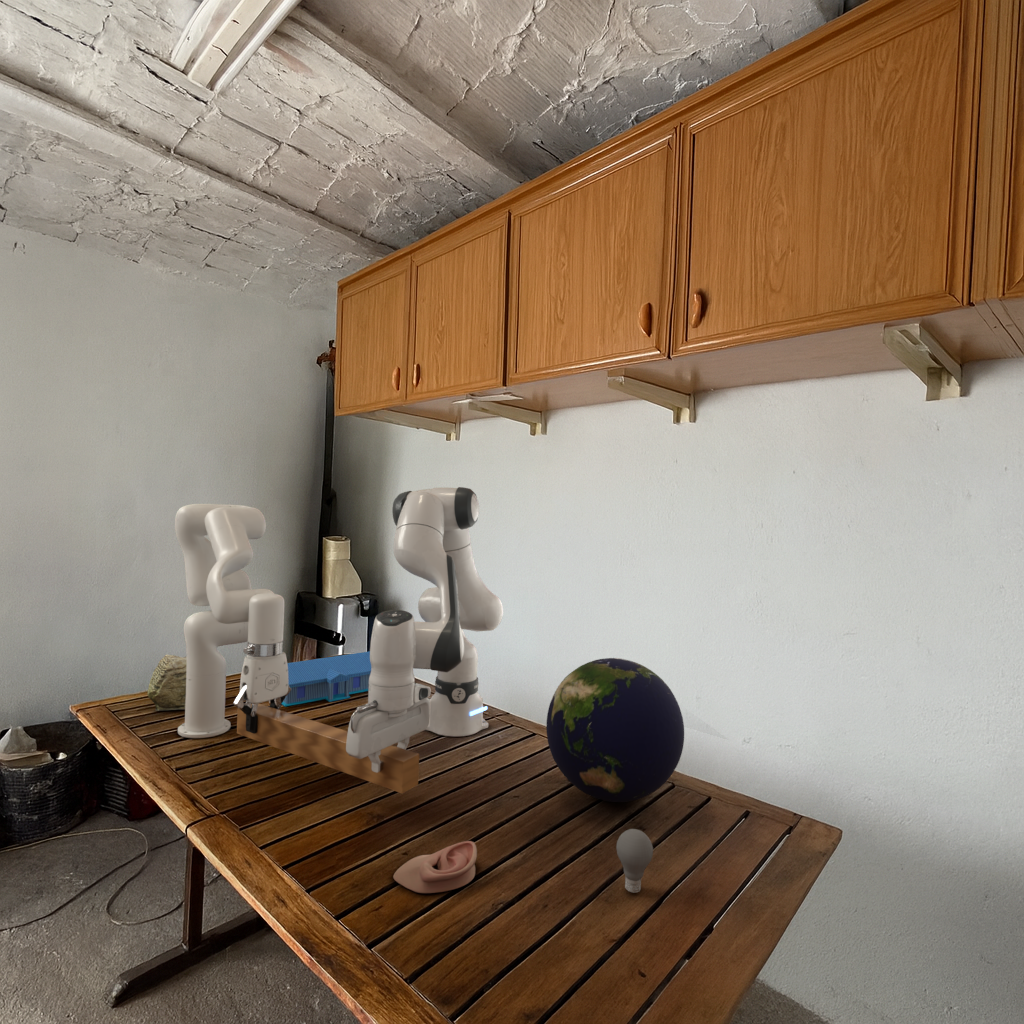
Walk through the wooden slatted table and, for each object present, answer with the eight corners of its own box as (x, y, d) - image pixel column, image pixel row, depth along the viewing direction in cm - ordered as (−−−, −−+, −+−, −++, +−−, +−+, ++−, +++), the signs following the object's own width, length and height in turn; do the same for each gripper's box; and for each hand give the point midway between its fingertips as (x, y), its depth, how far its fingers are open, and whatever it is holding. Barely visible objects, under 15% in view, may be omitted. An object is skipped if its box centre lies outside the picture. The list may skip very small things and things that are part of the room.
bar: (236, 733, 145) (237, 707, 145) (254, 727, 149) (255, 702, 149) (402, 793, 119) (403, 761, 119) (418, 784, 123) (419, 753, 123)
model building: (289, 709, 186) (291, 675, 185) (258, 688, 204) (259, 657, 204) (403, 687, 212) (405, 657, 212) (366, 670, 230) (368, 643, 230)
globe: (523, 809, 132) (530, 666, 131) (566, 757, 160) (571, 639, 159) (669, 844, 121) (677, 688, 120) (688, 782, 148) (694, 654, 148)
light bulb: (610, 879, 108) (613, 822, 108) (644, 879, 109) (647, 822, 109) (619, 902, 102) (622, 840, 102) (655, 901, 103) (658, 840, 103)
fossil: (144, 707, 182) (145, 655, 182) (212, 696, 194) (213, 647, 194) (151, 716, 175) (153, 662, 175) (221, 703, 188) (223, 653, 188)
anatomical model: (386, 863, 103) (411, 828, 115) (385, 887, 104) (410, 850, 115) (465, 876, 101) (482, 839, 112) (463, 901, 101) (481, 861, 112)
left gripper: (242, 659, 135) (239, 743, 135) (306, 645, 149) (303, 721, 149) (220, 653, 138) (217, 735, 139) (285, 640, 153) (282, 714, 153)
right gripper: (364, 713, 113) (361, 789, 113) (436, 686, 131) (433, 752, 131) (339, 705, 116) (336, 779, 117) (412, 680, 134) (410, 745, 134)
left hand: (262, 727), depth 144 cm, fingers closed on bar, 4 cm apart
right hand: (388, 765), depth 124 cm, fingers closed on bar, 5 cm apart
